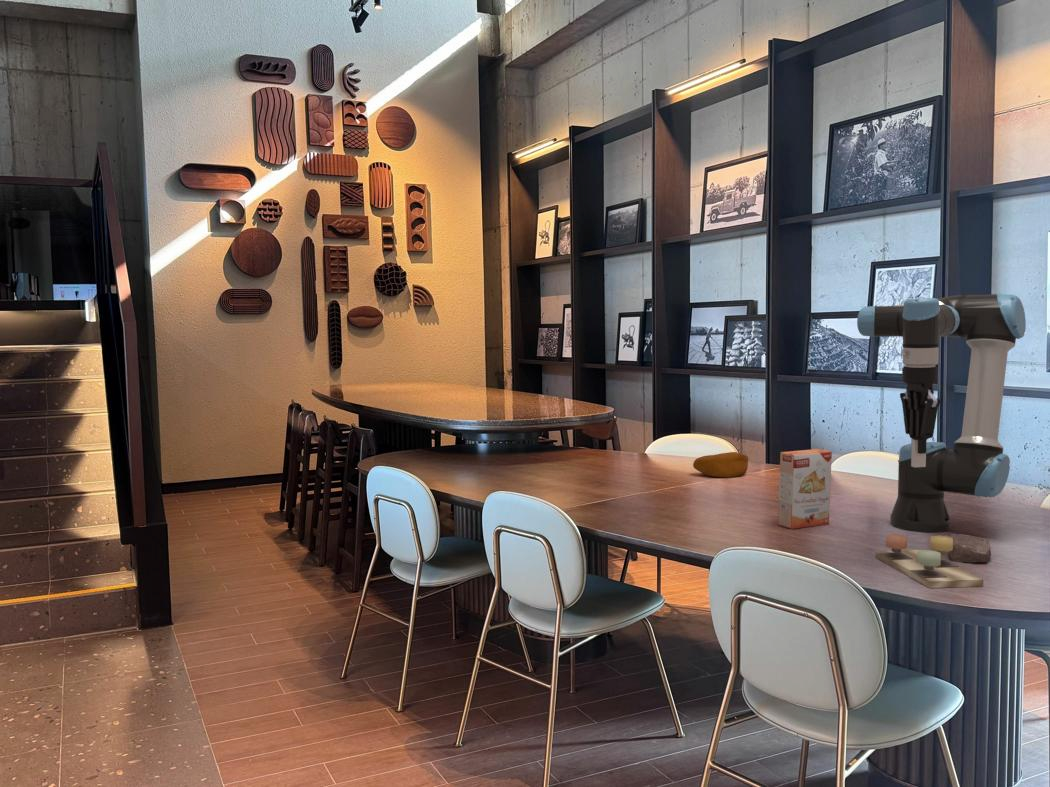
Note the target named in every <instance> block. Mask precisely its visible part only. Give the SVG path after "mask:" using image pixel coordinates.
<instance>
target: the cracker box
mask: <svg viewBox="0 0 1050 787" xmlns="http://www.w3.org/2000/svg"><path fill="white" fill-rule="evenodd" d="M832 456H833V454H832V451H830V450H827V449H820V448H813V449H803V450H793V451H792V450H790V451H781V452H780V454H779V457H780V458H779V459H780V460H779V482H778V483H779V485H778V486H779V487H778V488H779V489H778V490H779V491H778V518H777V519H778V520H777V521H778V522H777V524H778V526H781V527H784V528H788V529H790V530H795V529H801V528H802V529H803V528H809V527H815V526H823V525H829V524H830V509H831V508H830V504H831V503H830V502H831V485H832V484H831V479H832V477H831V476H832Z"/></svg>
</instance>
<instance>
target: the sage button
mask: <svg viewBox="0 0 1050 787" xmlns="http://www.w3.org/2000/svg"><path fill="white" fill-rule="evenodd" d="M918 550H919V551H918V563H919V564H921V565H924V569H926V570H934V566H940V565H941V559H942V558H941V557H942V555H941V553H939V552H937V550H933V549H932V550H931V549H923V550H922V549H918Z"/></svg>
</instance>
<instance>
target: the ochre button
mask: <svg viewBox="0 0 1050 787" xmlns="http://www.w3.org/2000/svg"><path fill="white" fill-rule="evenodd" d="M950 537H951V536H945V535H932V536H930V550H931V549H932V551H937V552H939V553H941V556H946V555H947V552H949V551H952V550H953V539H952V538H950Z"/></svg>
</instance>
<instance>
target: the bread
mask: <svg viewBox="0 0 1050 787" xmlns="http://www.w3.org/2000/svg"><path fill="white" fill-rule="evenodd" d="M692 463H693V464H692V467H693V468H694V470H696V471H698V472H700V473H701V474H704V475H705V476H708V477H716V478H723V479H724V478H725V479H727V478H734V477H739V476H743V475H745V474H746V473H747V471H748V468H749V466H748V465H749V456H747V455H745V454H742V453H740V452H736V451H731V452H730V451H729V452H721V453H716V454H709V455H703V456H700V457H697V458H696V459H694V461H693V462H692Z"/></svg>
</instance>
